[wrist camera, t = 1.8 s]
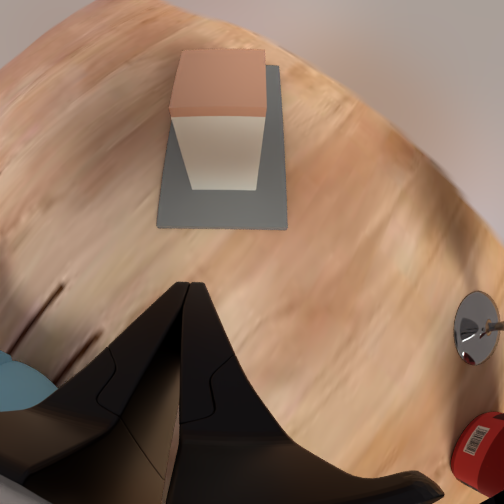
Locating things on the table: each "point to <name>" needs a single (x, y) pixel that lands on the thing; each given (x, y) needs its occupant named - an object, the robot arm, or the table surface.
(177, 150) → the rubber mat
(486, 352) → the wine glass
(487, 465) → the canned food
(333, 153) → the table surface
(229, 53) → the tall block
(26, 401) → the teapot
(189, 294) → the robot arm
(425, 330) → the table surface
